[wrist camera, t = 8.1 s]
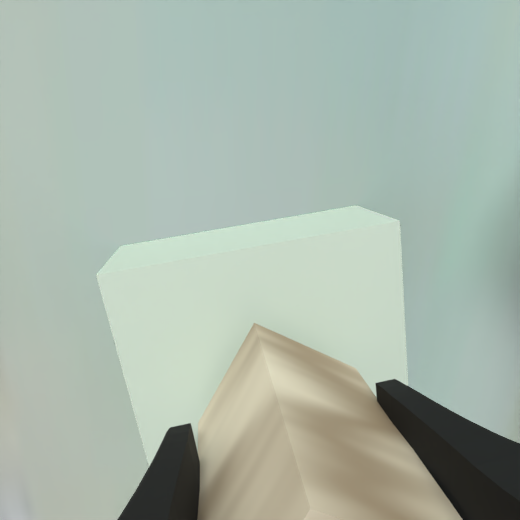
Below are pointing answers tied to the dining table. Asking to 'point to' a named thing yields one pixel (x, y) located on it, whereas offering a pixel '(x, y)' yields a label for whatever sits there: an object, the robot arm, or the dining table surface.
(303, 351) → the maple block
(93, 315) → the dining table surface
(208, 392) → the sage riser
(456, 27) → the dining table surface
